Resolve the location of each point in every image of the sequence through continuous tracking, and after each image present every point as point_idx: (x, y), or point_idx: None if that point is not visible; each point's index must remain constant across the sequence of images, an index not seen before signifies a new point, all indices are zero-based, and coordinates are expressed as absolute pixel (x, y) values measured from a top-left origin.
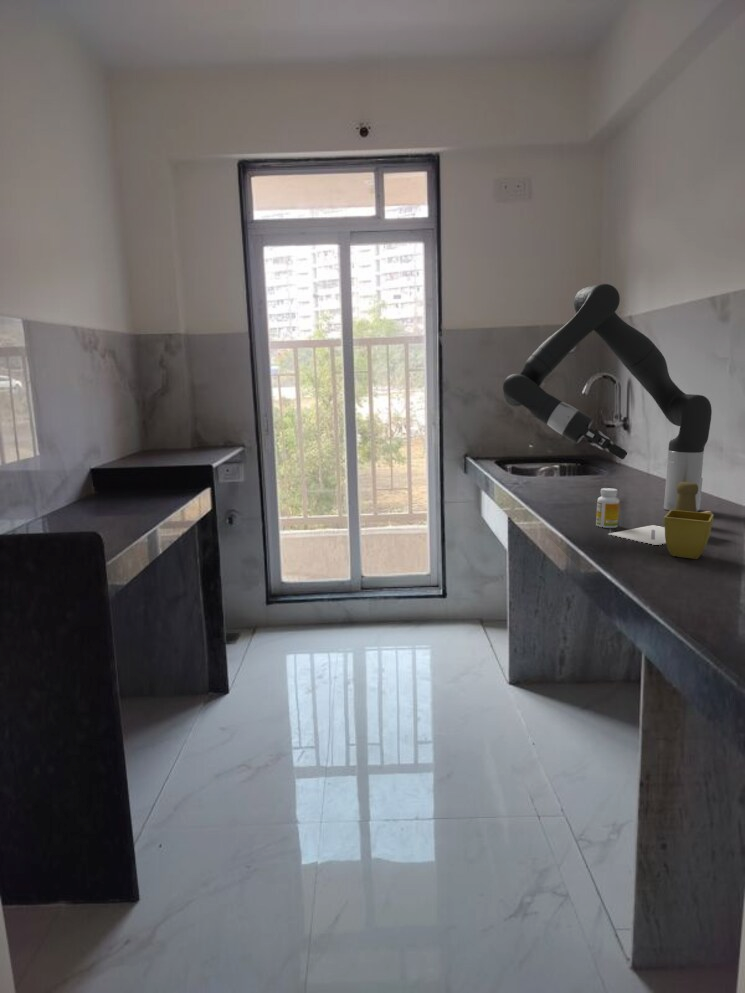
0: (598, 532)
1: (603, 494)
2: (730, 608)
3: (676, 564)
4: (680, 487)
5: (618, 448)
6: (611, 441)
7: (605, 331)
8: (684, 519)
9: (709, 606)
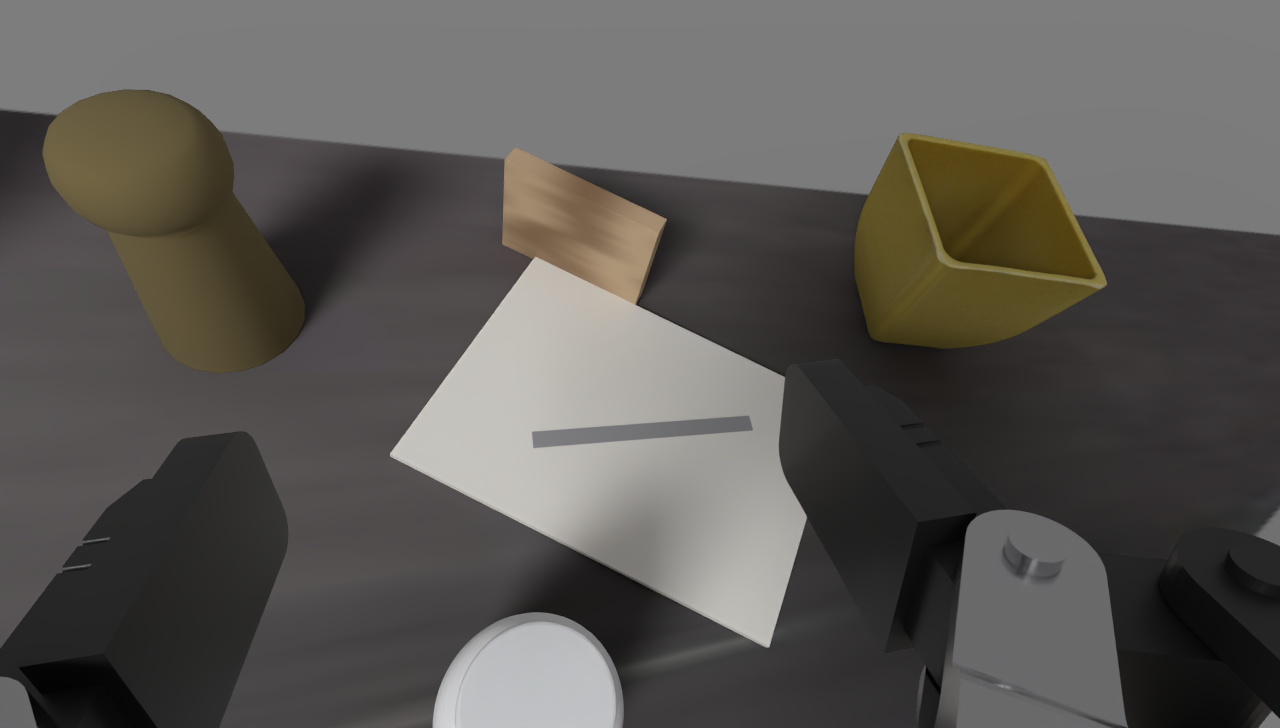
0: (734, 720)
1: None
2: (1248, 239)
3: (1026, 334)
4: (193, 190)
5: (936, 440)
6: (1053, 542)
7: None
8: (1078, 224)
9: (1276, 272)
